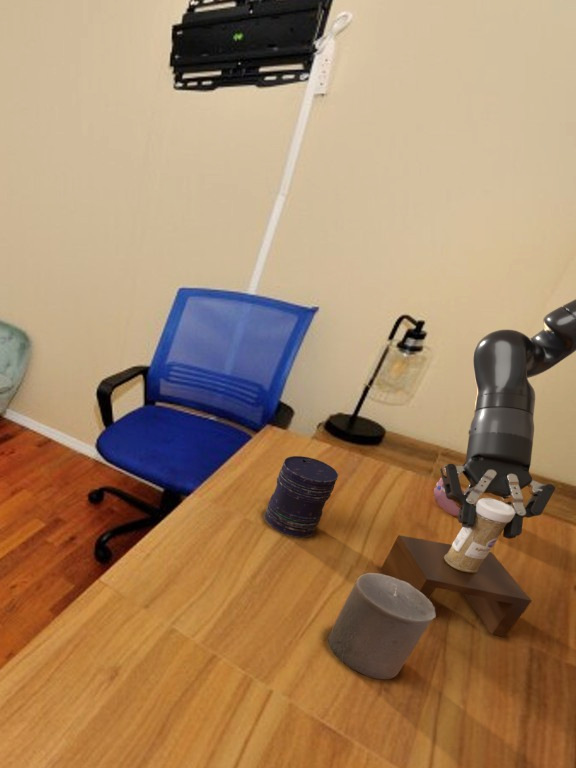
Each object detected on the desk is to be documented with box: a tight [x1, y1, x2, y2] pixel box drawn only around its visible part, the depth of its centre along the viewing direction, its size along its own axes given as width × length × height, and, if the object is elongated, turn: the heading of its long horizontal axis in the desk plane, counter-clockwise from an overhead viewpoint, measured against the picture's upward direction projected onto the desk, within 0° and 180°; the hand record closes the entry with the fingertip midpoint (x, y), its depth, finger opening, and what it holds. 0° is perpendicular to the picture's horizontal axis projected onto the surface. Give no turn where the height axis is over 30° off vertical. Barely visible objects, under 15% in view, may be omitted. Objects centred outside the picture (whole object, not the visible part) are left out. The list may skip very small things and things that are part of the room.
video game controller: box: [433, 477, 465, 517], centre depth 119 cm, size 10×5×7 cm, turn 130°
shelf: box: [380, 534, 533, 638], centre depth 92 cm, size 14×12×9 cm
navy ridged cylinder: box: [264, 455, 339, 538], centre depth 111 cm, size 10×10×15 cm
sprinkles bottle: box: [444, 497, 516, 573], centre depth 87 cm, size 5×5×14 cm
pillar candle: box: [327, 572, 437, 680], centre depth 82 cm, size 10×10×15 cm
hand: (488, 531), depth 85 cm, fingers closed on sprinkles bottle, 4 cm apart
